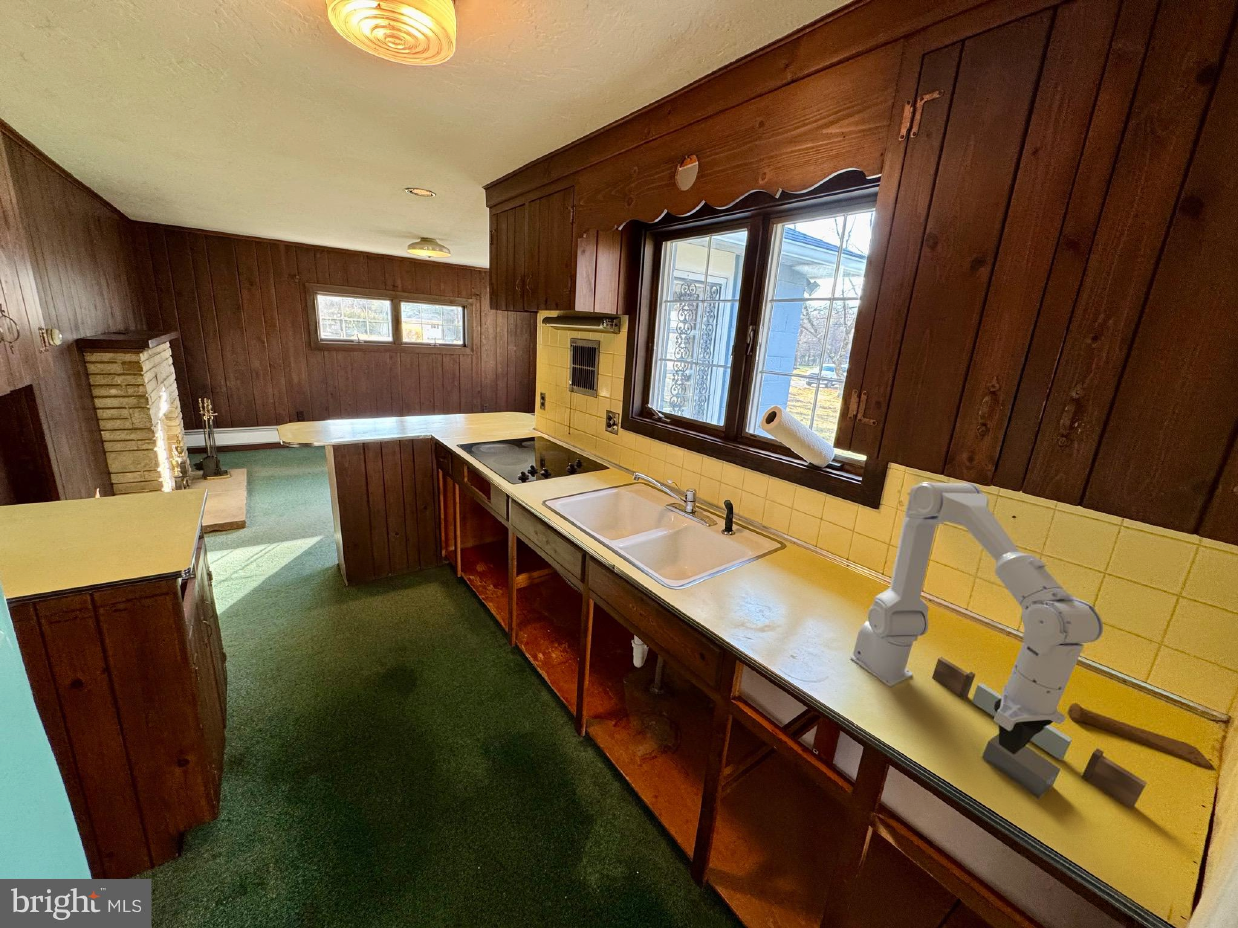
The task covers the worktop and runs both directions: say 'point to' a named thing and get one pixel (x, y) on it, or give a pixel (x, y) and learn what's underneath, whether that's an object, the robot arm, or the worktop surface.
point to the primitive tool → (1140, 736)
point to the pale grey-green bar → (1045, 739)
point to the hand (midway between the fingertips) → (1010, 746)
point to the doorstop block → (1022, 767)
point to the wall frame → (1098, 767)
